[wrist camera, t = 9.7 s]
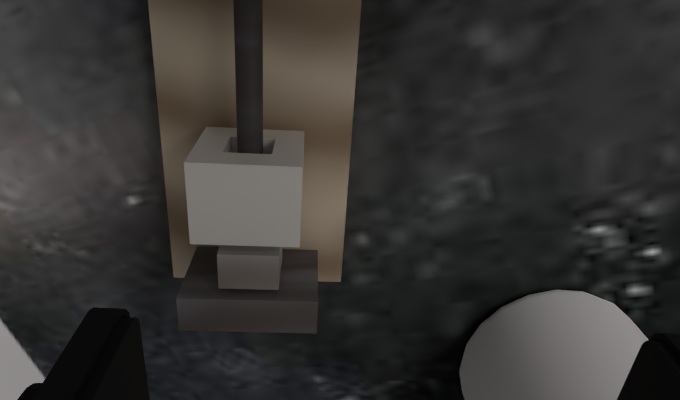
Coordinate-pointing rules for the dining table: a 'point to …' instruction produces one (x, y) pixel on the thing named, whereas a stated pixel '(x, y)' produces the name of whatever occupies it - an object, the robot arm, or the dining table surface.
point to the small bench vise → (257, 145)
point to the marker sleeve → (245, 189)
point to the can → (551, 350)
